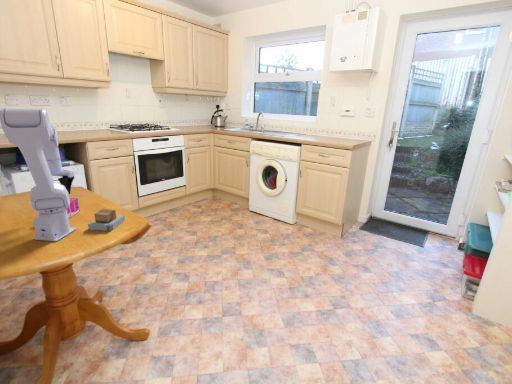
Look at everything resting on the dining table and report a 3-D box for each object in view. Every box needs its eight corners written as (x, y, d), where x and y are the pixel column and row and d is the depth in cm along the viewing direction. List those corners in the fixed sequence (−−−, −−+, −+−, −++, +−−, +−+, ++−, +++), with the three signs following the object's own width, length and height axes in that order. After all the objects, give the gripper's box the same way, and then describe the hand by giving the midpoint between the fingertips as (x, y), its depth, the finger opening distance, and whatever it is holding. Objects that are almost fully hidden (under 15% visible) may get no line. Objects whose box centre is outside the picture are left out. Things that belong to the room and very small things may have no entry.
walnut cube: (109, 227, 101) (107, 214, 100) (96, 226, 102) (94, 213, 100) (117, 221, 106) (115, 209, 104) (104, 220, 106) (102, 208, 105)
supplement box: (80, 211, 115) (63, 223, 104) (66, 210, 115) (47, 222, 104) (78, 198, 113) (60, 209, 102) (63, 197, 113) (43, 208, 102)
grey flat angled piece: (110, 231, 99) (110, 225, 98) (88, 229, 100) (87, 223, 99) (125, 220, 108) (124, 215, 107) (104, 218, 109) (104, 213, 108)
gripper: (77, 157, 104) (83, 191, 108) (41, 155, 105) (48, 189, 109) (63, 161, 97) (70, 198, 101) (25, 159, 98) (33, 195, 103)
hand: (58, 194), depth 105 cm, fingers open, 7 cm apart
